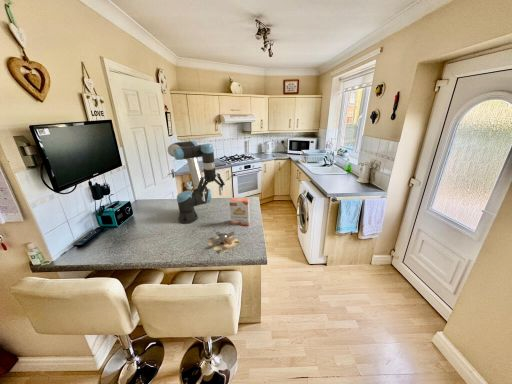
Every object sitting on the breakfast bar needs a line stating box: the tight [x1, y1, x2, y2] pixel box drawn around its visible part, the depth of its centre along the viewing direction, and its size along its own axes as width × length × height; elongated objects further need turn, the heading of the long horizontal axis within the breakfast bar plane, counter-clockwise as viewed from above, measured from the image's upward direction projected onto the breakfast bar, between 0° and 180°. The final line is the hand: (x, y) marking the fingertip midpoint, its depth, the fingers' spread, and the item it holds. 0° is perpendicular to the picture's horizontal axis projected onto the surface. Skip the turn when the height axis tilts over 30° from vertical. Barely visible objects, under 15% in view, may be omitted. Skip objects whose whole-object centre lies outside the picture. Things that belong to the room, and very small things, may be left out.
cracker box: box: [229, 197, 251, 227], centre depth 152 cm, size 14×6×21 cm, turn 84°
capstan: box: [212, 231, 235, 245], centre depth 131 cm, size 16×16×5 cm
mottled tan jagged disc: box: [206, 232, 242, 255], centre depth 132 cm, size 17×17×3 cm
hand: (212, 197), depth 139 cm, fingers open, 13 cm apart
